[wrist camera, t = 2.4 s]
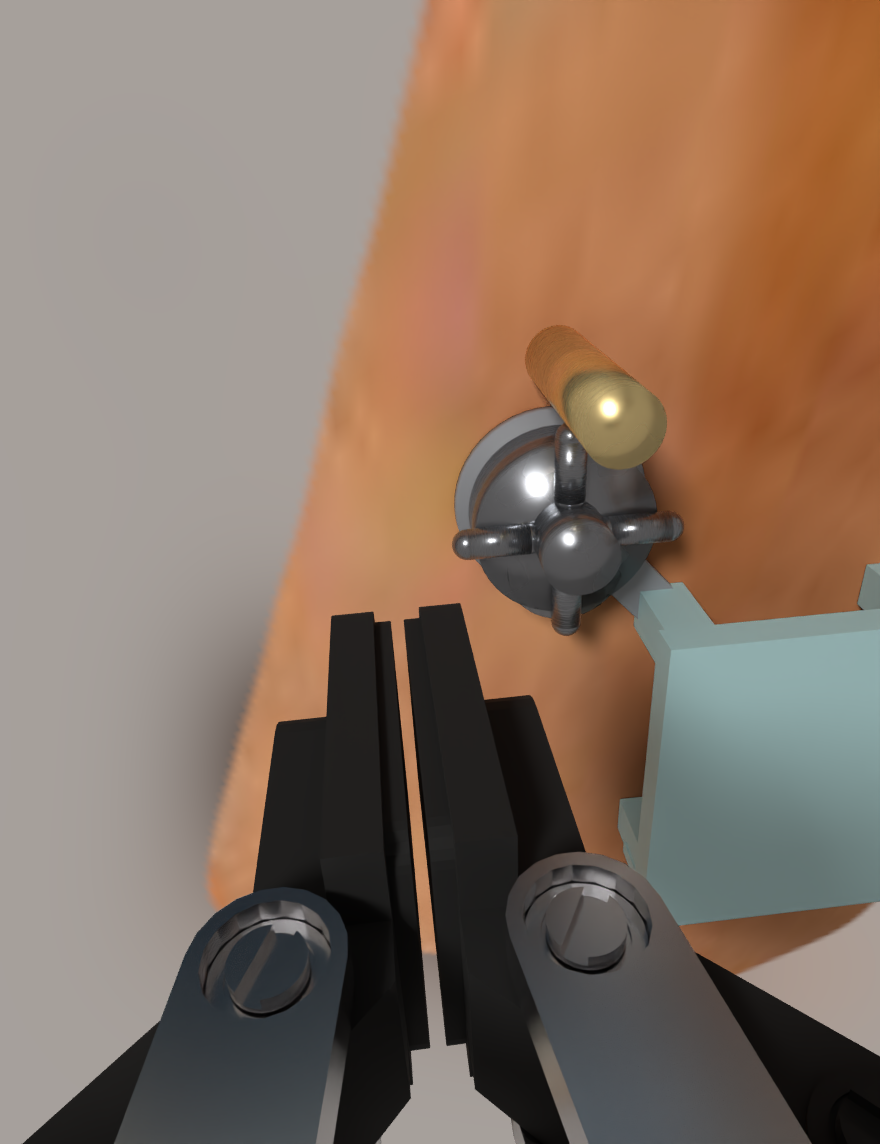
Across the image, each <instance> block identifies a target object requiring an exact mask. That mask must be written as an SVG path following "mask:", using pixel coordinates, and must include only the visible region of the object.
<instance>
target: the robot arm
mask: <svg viewBox="0 0 880 1144" xmlns="http://www.w3.org/2000/svg"><path fill="white" fill-rule="evenodd" d="M404 628H405V639H406V650H407V661H408V672H409V683H410V694H411V705H412V716H413V727H414V738H415V749H416V760H417V771H418V782H419V792H420V802H421V811H422V821H423V830H424V839H425V849H426V858H427V868H428V877H429V886H430V896H431V905H432V914H433V924H434V933H435V943H436V952H437V961H438V970H439V980H440V989H441V998H442V1008H443V1017H444V1027H445V1036H446V1045H447V1046H449V1045H457V1044H464V1043H466V1048H467V1056H468V1063H469V1071H470V1077H472V1076H473V1077H474V1083H475V1089H476V1090H477V1091H478V1092H479V1093H480V1094H482V1095H483V1096H484V1097H485V1098H487V1099H488V1100H489V1101H490V1102H491V1103H493V1104H494V1105H495V1106H496V1107H498V1108H499V1109H500V1110H501V1111H503V1112H504V1113H505V1114H506V1115H508V1116H509V1117H510V1118H511V1123H512V1129H513V1135H514V1139H515V1142H516V1144H880V1056H878V1055H876V1054H874V1053H873V1052H871V1051H869V1050H867V1049H866V1048H864V1047H862V1046H860V1045H859V1044H857V1043H855V1042H853V1041H852V1040H850V1039H848V1038H846V1037H845V1036H843V1035H841V1034H839V1033H837V1032H836V1031H834V1030H832V1029H830V1028H829V1027H827V1026H825V1025H823V1024H822V1023H820V1022H818V1021H816V1020H814V1019H813V1018H811V1017H809V1016H807V1015H806V1014H804V1013H802V1012H800V1011H798V1010H797V1009H795V1008H793V1007H791V1006H790V1005H788V1004H786V1003H784V1002H782V1001H781V1000H779V999H777V998H775V997H774V996H772V995H770V994H768V993H767V992H765V991H763V990H761V989H759V988H758V987H756V986H754V985H752V984H751V983H749V982H747V981H745V980H743V979H742V978H740V977H738V976H736V975H735V974H733V973H731V972H729V971H728V970H726V969H724V968H722V967H721V966H719V965H717V964H715V963H713V962H712V961H710V960H708V959H706V958H705V957H703V956H701V955H699V954H698V953H696V952H694V950H693V949H692V947H691V945H690V944H689V942H688V941H687V939H686V937H685V936H684V934H683V932H682V931H681V929H680V927H679V926H678V924H677V923H676V921H675V919H674V918H673V916H672V914H671V913H670V911H669V909H668V908H667V906H666V905H665V903H664V901H663V900H662V898H661V896H660V895H659V894H658V893H657V891H656V890H655V889H654V888H653V887H652V885H651V884H650V883H649V882H648V881H647V879H646V878H645V877H643V876H642V875H641V874H639V873H638V872H636V871H635V870H633V869H632V868H631V867H629V866H628V865H626V864H625V863H622V862H620V861H617V860H614V859H612V858H609V857H607V856H604V855H600V854H592V853H586V851H585V848H584V845H583V843H582V840H581V837H580V834H579V831H578V828H577V825H576V822H575V819H574V816H573V813H572V810H571V807H570V804H569V801H568V798H567V795H566V792H565V790H564V787H563V784H562V781H561V778H560V775H559V772H558V769H557V766H556V763H555V760H554V757H553V754H552V751H551V748H550V745H549V742H548V740H547V737H546V734H545V731H544V728H543V725H542V722H541V719H540V716H539V713H538V710H537V707H536V704H535V702H534V700H533V698H532V697H531V696H530V695H526V696H517V697H507V698H498V699H489V700H484V697H483V693H482V689H481V685H480V681H479V677H478V673H477V669H476V665H475V661H474V656H473V652H472V648H471V644H470V640H469V636H468V632H467V628H466V624H465V620H464V616H463V612H462V608H461V605H460V603H456V604H446V605H436V606H426V607H419V618H415V619H405V620H404ZM426 1048H430V1040H429V1028H428V1017H427V1005H426V995H425V983H424V971H423V960H422V949H421V937H420V926H419V914H418V903H417V892H416V880H415V869H414V858H413V846H412V835H411V823H410V812H409V801H408V790H407V780H406V770H405V760H404V750H403V740H402V730H401V720H400V710H399V700H398V690H397V680H396V670H395V660H394V650H393V640H392V630H391V621H385V622H375V620H374V613H373V612H365V613H355V614H345V615H335V616H332V617H331V632H330V653H329V674H328V695H327V716H326V717H320V718H311V719H301V720H292V721H283V722H279V723H278V724H277V726H276V731H275V736H274V744H273V751H272V758H271V766H270V773H269V780H268V787H267V795H266V802H265V809H264V817H263V824H262V831H261V838H260V846H259V853H258V860H257V868H256V875H255V882H254V890H253V893H251V894H249V895H246V896H243V897H241V898H238V899H236V900H234V901H233V902H231V903H230V904H228V905H227V906H225V907H224V908H222V909H221V910H219V911H218V912H216V913H215V914H214V915H213V916H212V917H211V918H210V919H209V920H208V922H207V923H206V924H205V925H204V926H203V927H202V928H201V929H200V930H199V931H198V932H197V934H196V935H195V937H194V939H193V941H192V943H191V945H190V946H189V948H188V950H187V952H186V954H185V956H184V958H183V961H182V964H181V967H180V969H179V972H178V975H177V977H176V980H175V983H174V985H173V988H172V990H171V993H170V996H169V998H168V1001H167V1004H166V1006H165V1009H164V1012H163V1014H162V1017H161V1020H160V1021H159V1022H158V1023H157V1024H156V1025H155V1026H153V1027H152V1028H151V1029H150V1030H149V1031H148V1032H147V1033H146V1034H145V1035H143V1037H141V1038H140V1039H139V1040H138V1041H137V1042H136V1043H135V1044H134V1045H132V1046H131V1047H130V1048H129V1049H128V1050H127V1051H126V1052H124V1053H123V1054H122V1055H121V1056H120V1057H119V1058H118V1059H117V1060H115V1062H113V1063H112V1064H111V1065H110V1066H109V1067H108V1068H107V1069H106V1070H104V1071H103V1072H102V1073H101V1074H100V1075H99V1076H98V1077H96V1078H95V1079H94V1080H93V1081H92V1082H91V1083H90V1084H89V1085H88V1086H86V1087H85V1088H84V1089H83V1090H82V1091H81V1092H80V1093H79V1094H77V1095H76V1096H75V1097H74V1098H73V1099H72V1100H71V1101H70V1102H69V1103H68V1104H66V1105H65V1106H64V1107H63V1108H62V1109H61V1110H60V1111H59V1112H57V1113H56V1114H55V1115H54V1116H53V1117H52V1118H51V1119H50V1120H48V1121H47V1122H46V1123H45V1124H44V1125H43V1126H42V1127H41V1128H39V1129H38V1130H37V1131H36V1132H35V1133H34V1134H33V1135H32V1136H31V1137H29V1139H27V1140H26V1141H25V1142H24V1143H23V1144H381V1136H382V1135H383V1133H384V1132H385V1131H386V1129H387V1128H388V1127H389V1126H390V1124H391V1123H392V1122H393V1120H394V1119H395V1118H396V1116H397V1115H398V1114H399V1113H400V1111H401V1110H402V1109H403V1108H404V1106H405V1105H406V1104H407V1102H408V1101H409V1100H410V1098H411V1096H410V1085H413V1077H412V1062H411V1051H412V1050H419V1049H426Z"/></svg>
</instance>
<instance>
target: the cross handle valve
mask: <svg viewBox="0 0 880 1144" xmlns="http://www.w3.org/2000/svg"><path fill="white" fill-rule="evenodd" d="M525 364H526V369H527V372H528V374H529V376H530V377H531V379H532V380H533V381H534V383H535V384H536V385H537V387H538V388H539V389H540V391H541V392H542V393H543V395H544V396H545V397H546V398H547V400H548V401H549V402H550V404H551V405H552V406H553V408H554V409H555V410H556V412H557V413H558V414H559V416H560V417H561V418H562V420H563V421H564V422H565V423H563V424H562V425H551V426H544V427H540V428H537V429H533V430H530V431H528V432H525V433H523V434H521V435H519V436H517V437H515V438H514V439H512V440H510V441H509V442H507V443H506V444H505V445H503V446H502V447H501V448H500V449H498V450H497V451H496V452H495V453H494V454H493V455H492V456H491V457H490V459H489V460H488V461H487V462H486V463H485V465H484V466H483V468H482V469H481V471H480V473H479V474H478V476H477V478H476V481H475V483H474V485H473V488H472V491H471V495H470V500H469V511H468V517H469V526H470V529H464V530H461V531H459V532H458V533H457V534H456V535H455V536H454V538H453V541H452V548H453V551H454V553H455V554H456V555H457V556H458V557H459V558H461V559H464V560H474V559H479V560H480V563H481V565H482V568H483V570H484V572H485V574H486V575H487V577H488V579H489V580H490V581H491V582H492V584H493V585H494V586H495V587H496V588H497V589H498V590H499V591H500V592H501V593H502V594H504V595H505V596H507V597H508V598H510V599H511V600H513V601H515V602H517V603H519V604H521V605H522V606H523V607H524V608H526V609H527V610H529V611H530V612H533V613H535V614H537V615H540V616H543V617H548V618H552V620H551V621H552V626H553V628H554V630H555V631H556V632H557V633H558V634H561V635H564V636H569V635H572V634H574V633H575V632H577V631H578V629H579V627H580V624H581V614H584V613H586V612H588V611H590V610H592V609H594V608H596V607H597V606H599V605H600V604H601V603H602V602H604V601H605V600H606V599H607V598H608V597H609V596H610V595H612V594H613V593H615V592H616V591H618V590H619V589H620V588H621V587H623V586H624V585H625V584H626V583H627V582H628V581H629V580H630V579H631V578H632V577H633V576H634V575H635V574H636V573H637V571H638V570H639V569H640V568H641V566H642V565H643V563H644V561H645V560H646V558H647V556H648V554H649V552H650V550H651V548H652V545H653V543H660V542H670V541H674V540H676V539H678V538H679V537H680V536H681V535H682V533H683V530H684V522H683V519H682V518H681V516H680V515H679V514H677V513H675V512H672V511H663V512H657V507H656V501H655V498H654V494H653V492H652V489H651V487H650V485H649V483H648V481H647V480H646V478H645V477H644V475H643V474H642V473H641V472H640V471H639V469H638V468H637V467H636V466H638V465H640V464H641V463H643V462H645V461H646V460H648V459H649V458H650V457H651V456H652V455H653V454H654V453H655V452H656V451H657V449H658V448H659V447H660V445H661V443H662V441H663V439H664V436H665V433H666V427H667V418H666V413H665V410H664V407H663V405H662V404H661V402H660V401H659V399H658V398H657V397H656V396H654V395H653V394H652V393H651V392H650V391H648V390H647V389H646V388H645V387H644V386H642V385H641V384H640V383H639V382H638V381H636V380H635V379H634V378H633V377H632V376H630V375H629V374H628V373H627V372H625V371H624V370H623V369H622V368H621V367H619V366H618V365H617V364H616V363H615V362H613V361H612V360H611V359H610V358H609V357H607V356H606V355H605V354H604V353H603V352H601V351H600V350H599V349H598V348H596V347H595V346H594V345H593V344H592V343H590V342H589V341H588V340H587V339H586V338H584V337H583V336H582V335H581V334H580V333H578V332H577V331H576V330H574V329H573V328H570V327H568V326H563V325H556V326H551V327H548V328H545V329H544V330H542V331H540V332H539V333H538V334H537V335H536V336H535V337H534V338H533V339H532V340H531V342H530V344H529V346H528V348H527V351H526V356H525Z"/></svg>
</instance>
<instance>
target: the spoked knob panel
mask: <svg viewBox="0 0 880 1144" xmlns="http://www.w3.org/2000/svg"><path fill="white" fill-rule="evenodd" d="M563 423H565V422H564V421H563V420H562V418H561V417H560V416H559V414H558V413H557V412H556V410H555V409H554V408H553V406H547V407H540V408H535V409H532V410H528V411H524V412H522V413H520V414H517V415H515V416H512V417H510V418H509V419H507V420H505V421H503V422H502V423H500V424H499V425H497V426H496V427H495V428H493V429H492V430H491V431H489V432H488V433H487V434H486V435H485V436H484V437H483V438H482V439H481V440H480V441H479V442H478V444H477V445H476V446H475V447H474V448H473V450H472V451H471V453H470V454H469V456H468V457H467V459H466V461H465V463H464V465H463V467H462V469H461V471H460V474H459V478H458V481H457V484H456V490H455V503H454V508H455V516H456V521H457V525H458V529H459V531H461V530H464V529H470V526H469V517H468V511H469V500H470V495H471V491H472V488H473V485H474V483H475V481H476V478H477V476H478V474H479V473H480V471H481V469H482V468H483V466H484V465H485V463H486V462H487V461H488V460H489V459H490V457H491V456H492V455H493V454H494V453H495V452H496V451H497V450H498V449H500V448H501V447H502V446H503V445H505V444H506V443H507V442H509V441H510V440H512V439H514V438H515V437H517V436H519V435H521V434H523V433H525V432H528V431H530V430H533V429H537V428H540V427H544V426H551V425H562V424H563ZM636 467H637V468H638V469H639V471H640V472H641V473H642V474H643V475H644V471H643V467H642V464H640V465H638V466H636ZM644 477H645V476H644ZM475 560H476V561H477V562H478V563H479V564H480V565H481V563H480V560H479V559H475ZM481 566H482V565H481ZM612 596H614V597H615V598H616V599H617V600H618V601H619V602H620V603H621V604H622V605H623V606H624V607H625V608H626V609H627V610H629V611H630V612H631V613H632V614H633V615H634V627H635V629H636V631H637V632H638V634H639V636H640V637H641V639H642V641H643V643H644V644H645V646H646V648H647V650H648V651H649V653H650V655H651V656H652V658H653V660H654V662H655V673H654V683H653V693H652V703H651V713H650V724H649V734H648V744H647V754H646V764H645V774H644V784H643V795H642V797H635V798H626V799H620V804H619V816H618V830H619V832H620V835H621V838H622V840H623V843H624V845H623V852H624V855H625V858H626V860H627V863H628V866H629V867H631V868H632V869H633V870H635V871H636V872H638V873H639V874H641V875H642V876H643V877H645V878H646V879H647V881H648V882H649V883H650V884H651V885H652V887H653V888H654V889H655V890H656V891H657V893H658V894H659V895H660V896H661V898H662V900H663V901H664V903H665V905H666V906H667V908H668V909H669V911H670V913H671V914H672V916H673V918H674V919H675V921H676V923H677V924H678V926H679V925H687V924H696V923H704V922H712V921H721V920H729V919H737V918H746V917H754V916H762V915H771V914H779V913H787V912H796V911H804V910H812V909H821V908H829V907H837V906H846V905H854V904H862V903H871V902H879V901H880V563H879V564H868V565H867V566H866V570H865V574H864V578H863V582H862V586H861V591H860V595H859V599H858V603H857V604H858V605H859V606H860V607H861V608H862V609H863V610H861V611H851V612H840V613H830V614H820V615H810V616H800V617H789V618H779V619H769V620H759V621H749V622H738V623H728V624H718V625H714V624H713V622H712V621H711V620H710V618H709V617H708V616H707V614H706V613H705V612H704V610H703V609H702V608H701V606H700V605H699V604H698V602H697V601H696V600H695V598H694V597H693V596H692V594H691V593H690V592H689V590H688V589H687V588H686V586H685V585H684V584H683V582H678V583H669V582H668V581H667V580H666V579H665V578H664V577H663V576H662V575H661V574H660V573H659V572H658V571H657V570H656V569H655V568H654V567H653V566H652V565H651V564H650V563H649V562H648V561H647V560H645V561H644V563H643V565H642V566H641V568H640V569H639V570H638V571H637V573H636V574H635V575H634V576H633V577H632V578H631V579H630V580H629V581H628V582H627V583H626V584H625V585H624V586H623V587H621V588H620V589H619V590H618V591H616V592H615V593H613V594H612Z"/></svg>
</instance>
